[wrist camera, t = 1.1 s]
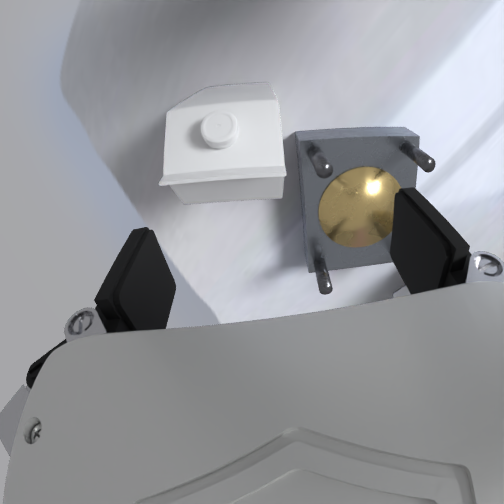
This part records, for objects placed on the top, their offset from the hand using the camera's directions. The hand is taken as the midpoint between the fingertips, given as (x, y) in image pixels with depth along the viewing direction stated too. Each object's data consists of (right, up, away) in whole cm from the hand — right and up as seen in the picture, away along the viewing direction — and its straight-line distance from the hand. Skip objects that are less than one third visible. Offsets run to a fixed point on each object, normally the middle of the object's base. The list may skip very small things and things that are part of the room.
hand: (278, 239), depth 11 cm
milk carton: (-2, +15, +20) cm, 25 cm away
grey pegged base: (+12, +7, +26) cm, 29 cm away
